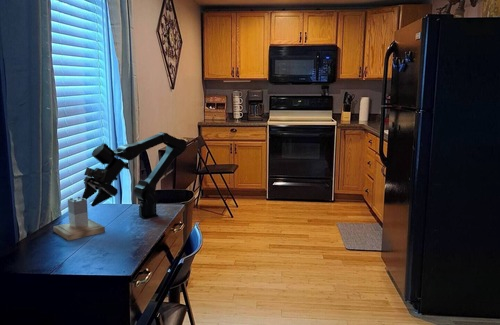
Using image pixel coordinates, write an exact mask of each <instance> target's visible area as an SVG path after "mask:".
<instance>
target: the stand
mask: <svg viewBox="0 0 500 325" xmlns="http://www.w3.org/2000/svg"><path fill="white" fill-rule="evenodd" d="M52 227H53V233H56V234H57V235H58V236H60V237H61V238H63V239H65V240H67V241H68V242H69V241H72V240H77V239H81V238H85V237H88V236H89V237H90V236H93V235H97V234H102V233H105V232H106V227H105V226H104V225H102V224H100V223H98V222H96V221H95V220H92V219H91V218H88V226H86V227H82V228H78V229H75V228H73V227H71V226H69V222H67V223H63V224H57V225H54V226H52Z"/></svg>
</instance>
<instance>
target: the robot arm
mask: <svg viewBox="0 0 500 325" xmlns="http://www.w3.org/2000/svg"><path fill="white" fill-rule="evenodd" d="M161 144H164V145H165V153H164V154H163V156H162V157H161V158H160V159H159V161H158V163H157V164H156V165H155V167H154V168H153V170H152V171H151V172H150V174H149V175H148V176H147V178H145V179H144V180H143V179H139V180H138V182H137V184H136V185H135V186H134V189H133V194H134V196H135V198H136V199H137V201H138V202H139V206H138V216H140V217H141V218H143V219H150V218H154V217H158V216H159V214H158V213H157V204H158V202H159V200H160V198H159V197H158V196H157V195H156V194H155V193H156V190H157V185H158V183H159V181H160V180H161V179H162V177H163V176H164V174H165V173H166V172H167V170H168V169H169V167H171V164H172V163H173V161H174V160H175V159H176V158H178V157H180V156H181V155H182V154H183V153H184V152H185V151H186V150H187V147H188V146H187V141H186V140H185V139H183V138H177V137H175V136H172V135H171V134H169V133H167V132H162V131H160V132H159V133H157V134H154V135H152V136H149V137H147V138H145V139H142V140H139V141H137V142H133V143H127V144H126V143H125V144H121V145H119V146H118V147H117V148H114V149H112V148H111V147H109V146H108V144H107V143H106V142H105V143H104V142H102V143H101V144H100V145H98V146H96V147H95V148H94V149H93V151H92V152H91V156H92V157H93V158H94V159H96V161H98V162H99V163H100V164H102V165H104V166H105V165H106V166H105V167H104V168H99V167H95V168H91V167H85V168H86V169H85V171H84V174H83V175H84V176H85V177H84V179H83V185H84V190H83V193H82V196H81V197H82V198H84V199H87V200H88V199H89V198H91V197H92V196H93V195H95V194H96V195H95V198H94V199H93V201H92V202H91V207H95V206H98V205H99V204H101V203H103V202H105V201H107V200H109V199H111V198H113V197H116V196H117V195H118V189H117V188H116V187H115V186H114V185H112V184H113V182H114V181H117V180H118V176H119V175H120V173H121V172H122V171H123V169H124V170H125V169H126V170H130V166H129V165H130V164H129V163H130V162H127V161H132V160H134V159H136V158H137V157H139V155H141V154H142V152H145V151H147V150H149V149H150V150H151V149H152V148H154V147H156V146H158V145H161ZM117 157H118V158H117ZM124 160H125V161H124Z"/></svg>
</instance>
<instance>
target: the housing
mask: <svg viewBox="0 0 500 325" xmlns="http://www.w3.org/2000/svg"><path fill="white" fill-rule="evenodd" d="M67 209H68V223H69V226H71V227H73V228H75V229H78V228H82V227H86V226H88V219H89V215H88V214H89V213H88V199H84V198H82V196H78V197H77V196H76V197H70V198H68V199H67Z"/></svg>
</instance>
